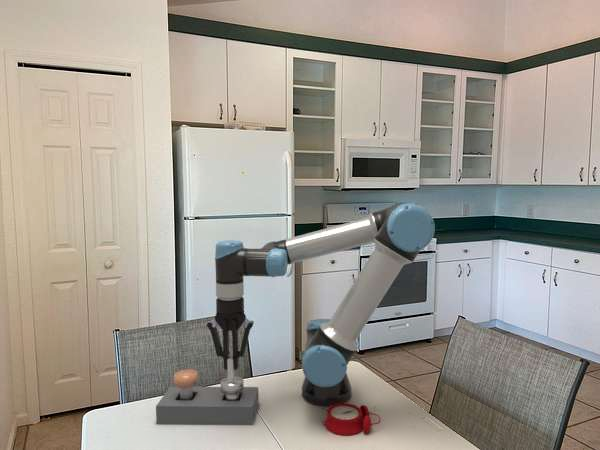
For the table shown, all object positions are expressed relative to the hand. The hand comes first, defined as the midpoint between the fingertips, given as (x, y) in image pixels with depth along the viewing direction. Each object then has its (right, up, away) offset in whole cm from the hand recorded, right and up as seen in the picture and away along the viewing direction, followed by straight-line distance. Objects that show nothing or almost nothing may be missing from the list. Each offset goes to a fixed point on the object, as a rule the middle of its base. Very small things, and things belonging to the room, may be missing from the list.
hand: (231, 380), depth 125 cm
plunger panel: (-6, -10, +1) cm, 12 cm away
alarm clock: (+33, -10, -6) cm, 35 cm away
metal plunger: (0, -8, +1) cm, 8 cm away
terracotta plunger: (-13, -6, +1) cm, 14 cm away
